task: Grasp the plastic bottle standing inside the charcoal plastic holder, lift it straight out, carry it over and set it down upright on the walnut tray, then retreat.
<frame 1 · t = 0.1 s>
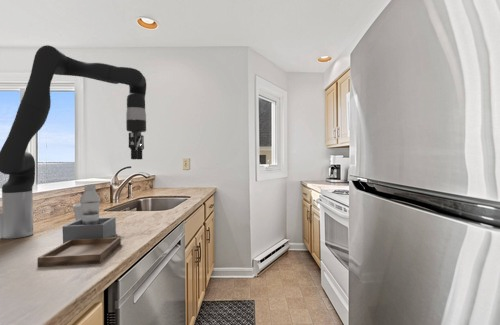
hand: (136, 159, 117), 29 cm above the worktop, fingers open, 8 cm apart
plastic bottle: (91, 239, 104), resting in holder
dixie cup: (84, 227, 126), on the worktop
tray: (83, 254, 87), on the worktop
holder: (91, 239, 104), on the worktop
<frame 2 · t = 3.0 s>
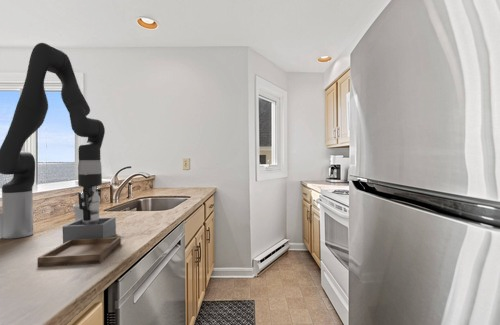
hand: (90, 218, 104), 8 cm above the worktop, fingers closed on plastic bottle, 6 cm apart
plastic bottle: (91, 239, 104), resting in holder, touching gripper
everything else where it was.
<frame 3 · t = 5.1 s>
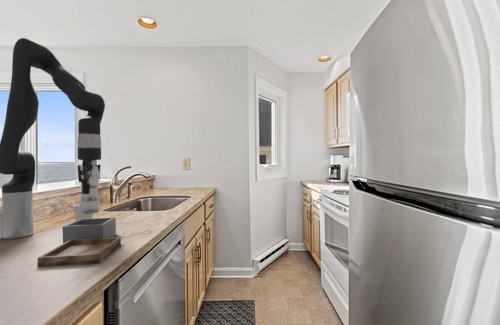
hand: (89, 192, 104), 17 cm above the worktop, fingers closed on plastic bottle, 6 cm apart
plastic bottle: (90, 214, 104), point 9 cm above the worktop, touching gripper
everything else where it was.
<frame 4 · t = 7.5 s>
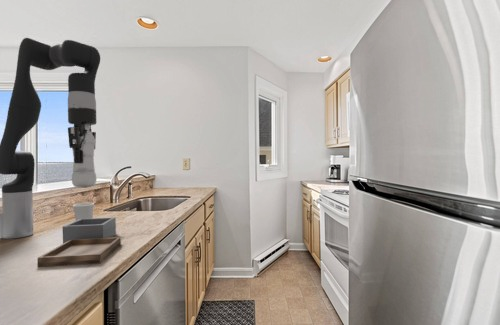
hand: (83, 163, 88), 28 cm above the worktop, fingers closed on plastic bottle, 6 cm apart
plastic bottle: (84, 188, 88), point 20 cm above the worktop, touching gripper
everything else where it was.
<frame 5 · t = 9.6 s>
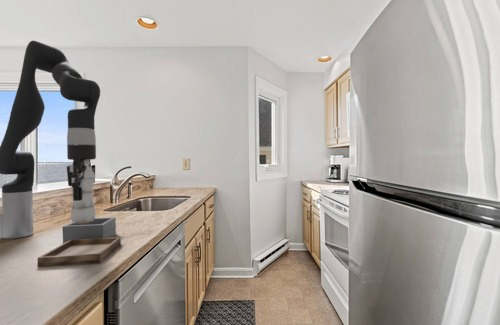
hand: (82, 198, 87), 17 cm above the worktop, fingers closed on plastic bottle, 6 cm apart
plastic bottle: (83, 224, 87), point 9 cm above the worktop, touching gripper
everything else where it was.
when the fingers open (9 cm above the worktop, at t = 11.6 s): plastic bottle stays where it is, resting on tray.
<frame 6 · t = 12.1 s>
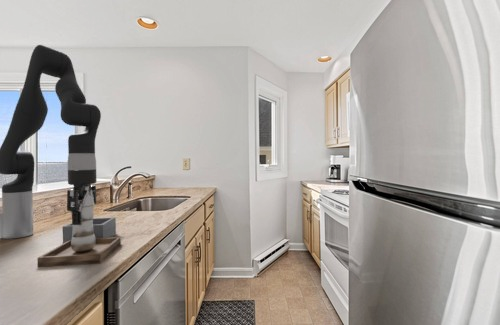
hand: (83, 221, 87), 10 cm above the worktop, fingers open, 8 cm apart
plastic bottle: (83, 251, 87), point 1 cm above the worktop, touching tray
everything else where it was.
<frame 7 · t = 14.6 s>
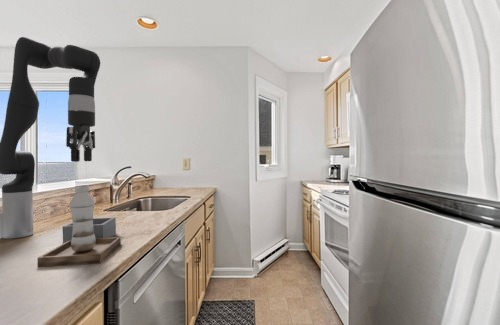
hand: (81, 161, 92), 29 cm above the worktop, fingers open, 8 cm apart
nothing on the worktop moved.
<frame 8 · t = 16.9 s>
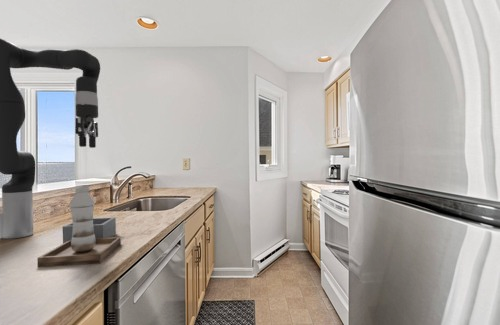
hand: (87, 147, 110), 34 cm above the worktop, fingers open, 8 cm apart
nothing on the worktop moved.
at the end: plastic bottle inside the target area on the tray (0.2 cm from its centre), point 0.8 cm above the tray's base; plastic bottle tilted 0°; the gripper is holding nothing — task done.
